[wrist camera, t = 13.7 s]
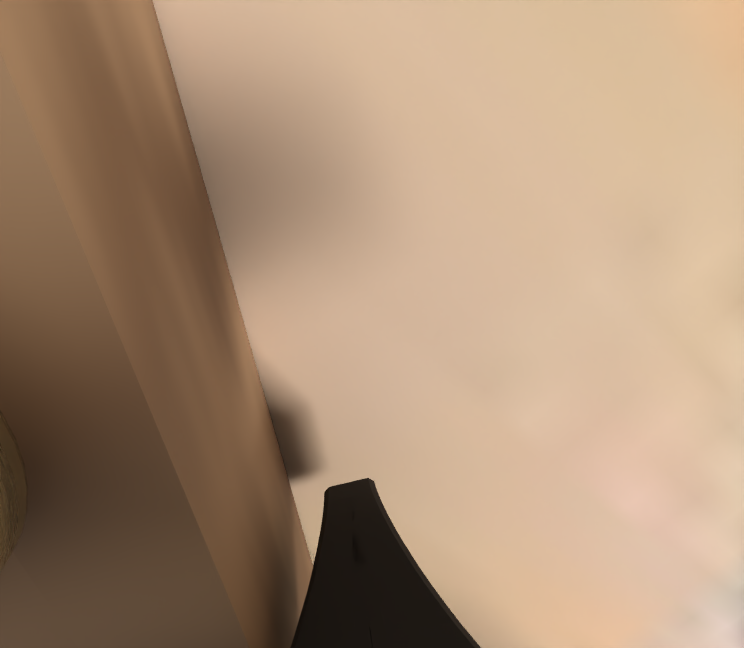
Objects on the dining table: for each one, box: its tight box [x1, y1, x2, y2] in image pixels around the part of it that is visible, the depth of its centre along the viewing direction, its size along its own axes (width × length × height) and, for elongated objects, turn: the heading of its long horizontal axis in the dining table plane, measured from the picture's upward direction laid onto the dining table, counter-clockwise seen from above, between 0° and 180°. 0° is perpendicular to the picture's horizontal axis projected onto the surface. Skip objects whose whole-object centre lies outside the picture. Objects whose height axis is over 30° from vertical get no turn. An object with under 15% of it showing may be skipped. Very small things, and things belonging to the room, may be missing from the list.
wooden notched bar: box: [0, 0, 313, 648], centre depth 9 cm, size 19×5×5 cm, turn 8°
